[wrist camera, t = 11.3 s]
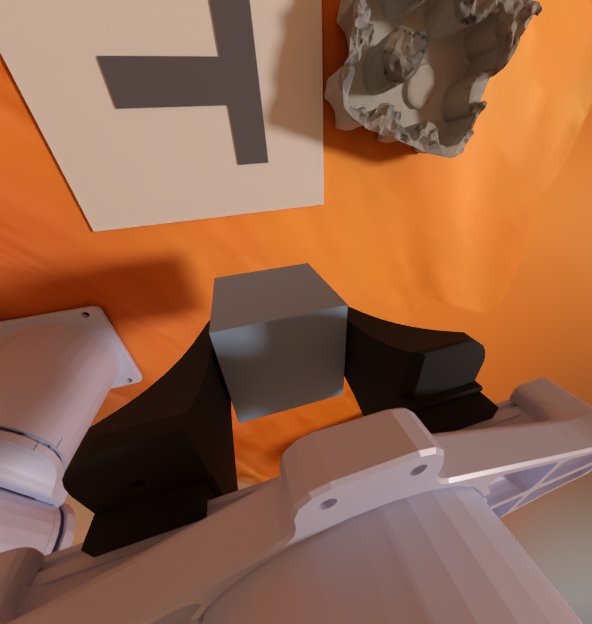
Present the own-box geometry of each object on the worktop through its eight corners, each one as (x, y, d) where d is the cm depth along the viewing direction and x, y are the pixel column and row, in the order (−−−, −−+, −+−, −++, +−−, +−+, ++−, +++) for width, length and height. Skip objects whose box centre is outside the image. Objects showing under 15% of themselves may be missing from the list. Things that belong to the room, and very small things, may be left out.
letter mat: (95, 231, 15) (92, 232, 15) (-125, -194, 8) (-137, -207, 8) (323, 204, 18) (324, 204, 18) (319, -124, 11) (321, -131, 10)
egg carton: (480, 41, 16) (554, 3, 12) (429, 168, 19) (475, 166, 15) (346, -56, 12) (399, -151, 8) (311, 123, 15) (338, 108, 12)
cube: (235, 352, 14) (239, 423, 10) (214, 278, 12) (208, 333, 8) (310, 335, 15) (343, 394, 11) (307, 263, 13) (347, 305, 8)
